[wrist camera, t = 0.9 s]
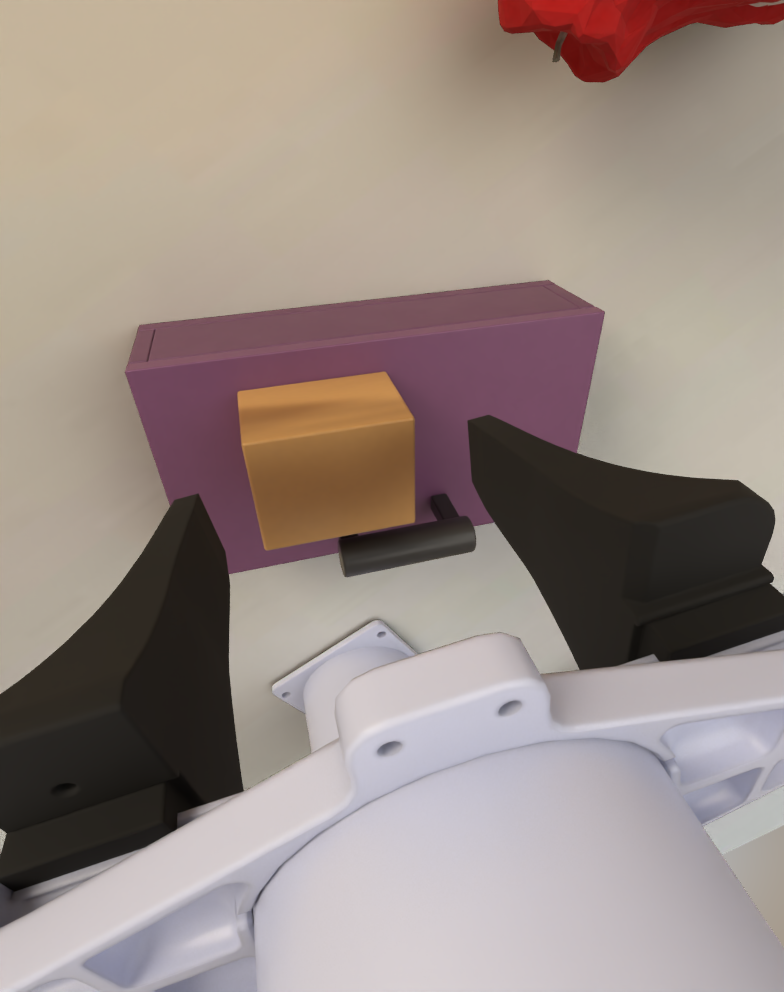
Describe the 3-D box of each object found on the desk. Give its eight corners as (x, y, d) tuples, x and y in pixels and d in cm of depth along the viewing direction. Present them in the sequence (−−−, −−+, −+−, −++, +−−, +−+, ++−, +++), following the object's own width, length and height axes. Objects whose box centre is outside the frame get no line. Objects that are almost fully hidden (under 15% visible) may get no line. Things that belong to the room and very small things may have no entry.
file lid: (559, 501, 26) (602, 551, 23) (195, 571, 22) (193, 639, 20) (596, 306, 20) (658, 341, 17) (126, 363, 17) (110, 417, 14)
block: (389, 468, 21) (415, 523, 19) (257, 490, 20) (264, 552, 18) (386, 370, 19) (415, 417, 16) (236, 390, 18) (241, 444, 15)
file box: (526, 448, 28) (561, 488, 25) (193, 505, 25) (191, 557, 22) (549, 279, 23) (596, 305, 20) (138, 324, 20) (126, 362, 17)
